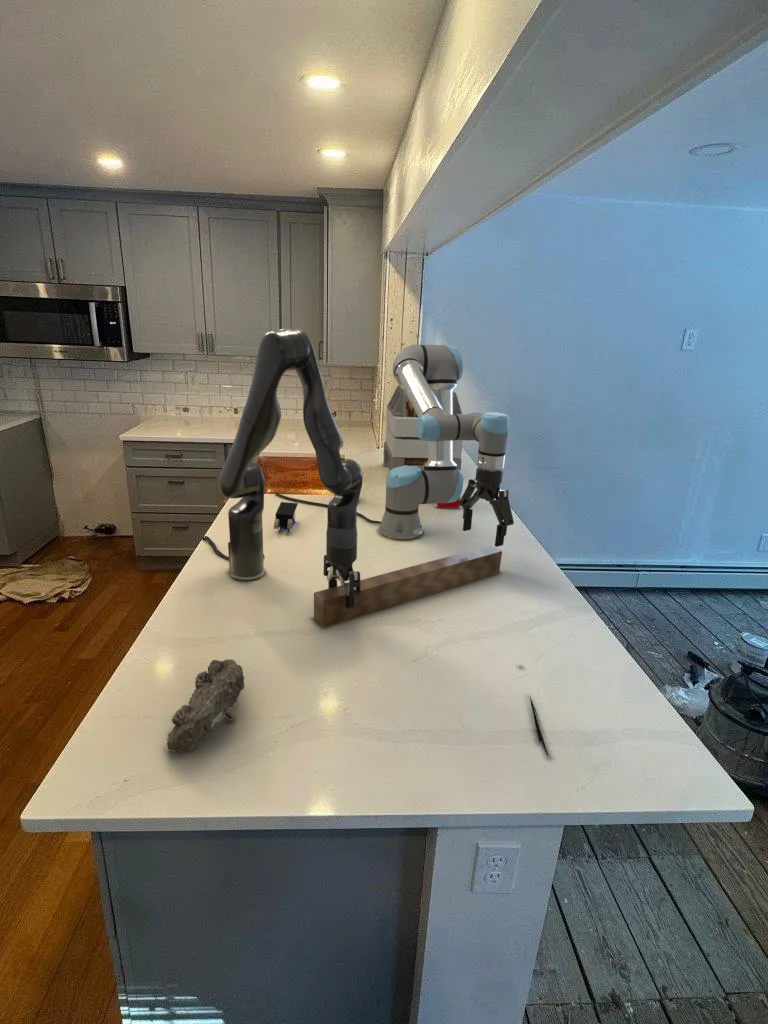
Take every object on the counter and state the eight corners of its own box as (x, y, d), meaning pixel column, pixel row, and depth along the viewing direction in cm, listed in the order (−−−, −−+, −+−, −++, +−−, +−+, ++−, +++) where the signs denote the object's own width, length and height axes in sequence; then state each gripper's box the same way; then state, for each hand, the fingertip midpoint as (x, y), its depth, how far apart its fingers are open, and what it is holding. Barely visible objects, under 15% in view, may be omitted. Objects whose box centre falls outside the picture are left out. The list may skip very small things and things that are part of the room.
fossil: (192, 660, 117) (244, 628, 112) (224, 691, 120) (276, 661, 115) (142, 746, 98) (202, 712, 93) (182, 779, 101) (242, 748, 96)
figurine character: (293, 539, 194) (298, 519, 208) (292, 519, 191) (298, 500, 204) (273, 538, 194) (280, 518, 207) (272, 519, 191) (279, 500, 204)
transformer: (382, 463, 289) (386, 382, 275) (445, 464, 293) (451, 384, 279) (390, 482, 257) (394, 392, 243) (460, 483, 261) (468, 394, 247)
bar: (487, 566, 177) (490, 545, 175) (499, 573, 173) (502, 551, 171) (313, 618, 144) (313, 592, 141) (323, 627, 140) (323, 600, 137)
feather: (521, 671, 128) (526, 665, 127) (548, 760, 101) (555, 753, 101) (514, 667, 128) (520, 661, 127) (540, 755, 101) (547, 748, 101)
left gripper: (314, 534, 142) (314, 592, 147) (343, 554, 131) (342, 616, 136) (340, 529, 146) (339, 586, 151) (370, 548, 135) (368, 608, 140)
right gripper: (450, 459, 168) (445, 526, 175) (513, 481, 149) (504, 555, 156) (469, 456, 172) (463, 522, 179) (532, 477, 153) (522, 549, 160)
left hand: (341, 600), depth 143 cm, fingers open, 8 cm apart
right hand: (482, 537), depth 168 cm, fingers open, 13 cm apart
